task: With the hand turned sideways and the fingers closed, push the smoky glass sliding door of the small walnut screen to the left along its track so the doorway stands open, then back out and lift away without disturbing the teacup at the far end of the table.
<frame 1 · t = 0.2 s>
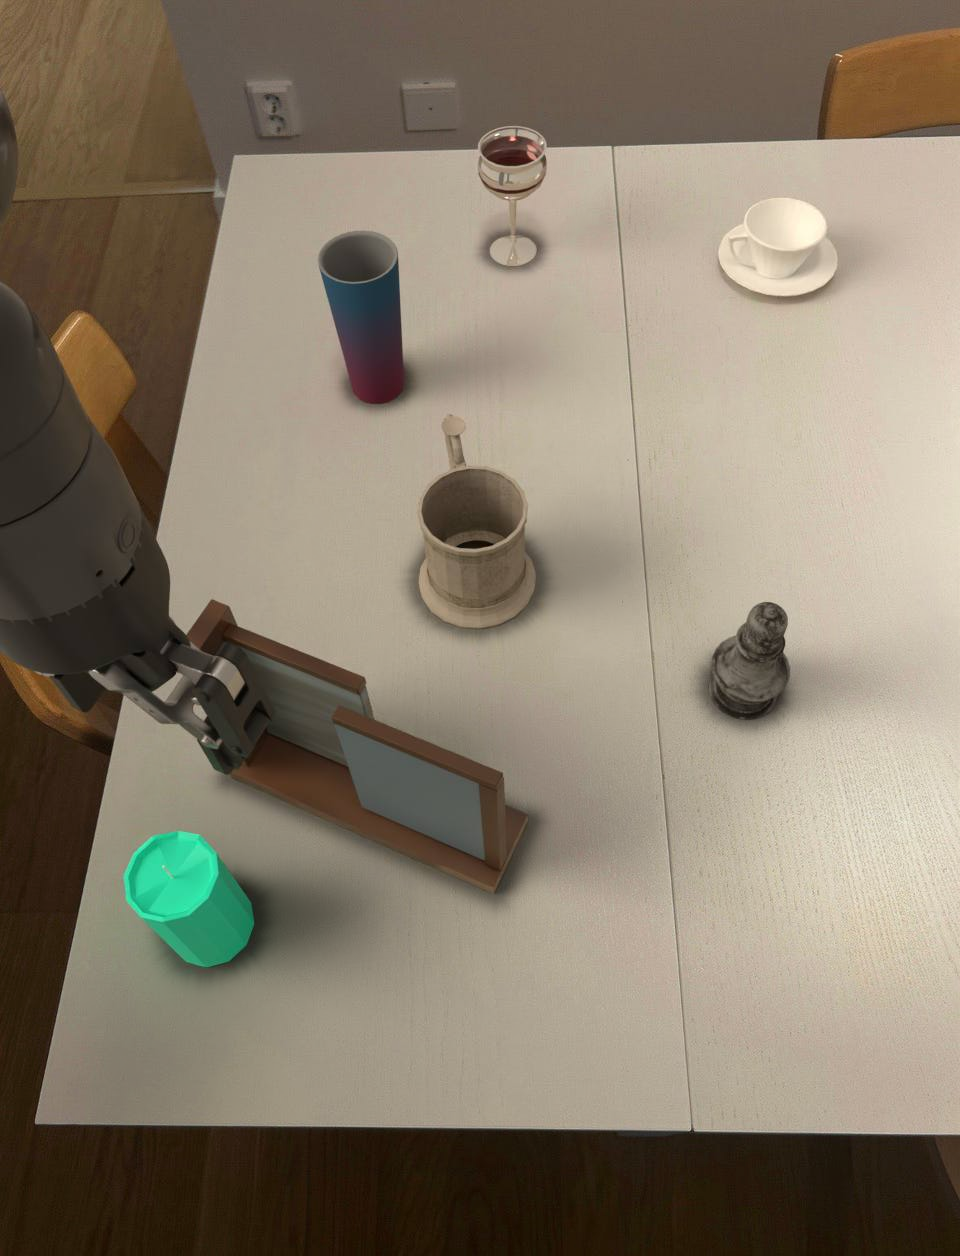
hand: (162, 726, 54), 26 cm above the table, tool pointing down, fingers open, 8 cm apart
screen frame: (377, 799, 80), on the table
wineglass: (513, 251, 112), on the table
glass door: (424, 792, 70), point 9 cm above the table, slide at 0.0 cm
teacup: (774, 268, 110), on the table
cup: (378, 386, 103), on the table
candle: (213, 925, 75), on the table
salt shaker: (742, 690, 84), on the table
mug: (471, 559, 91), on the table
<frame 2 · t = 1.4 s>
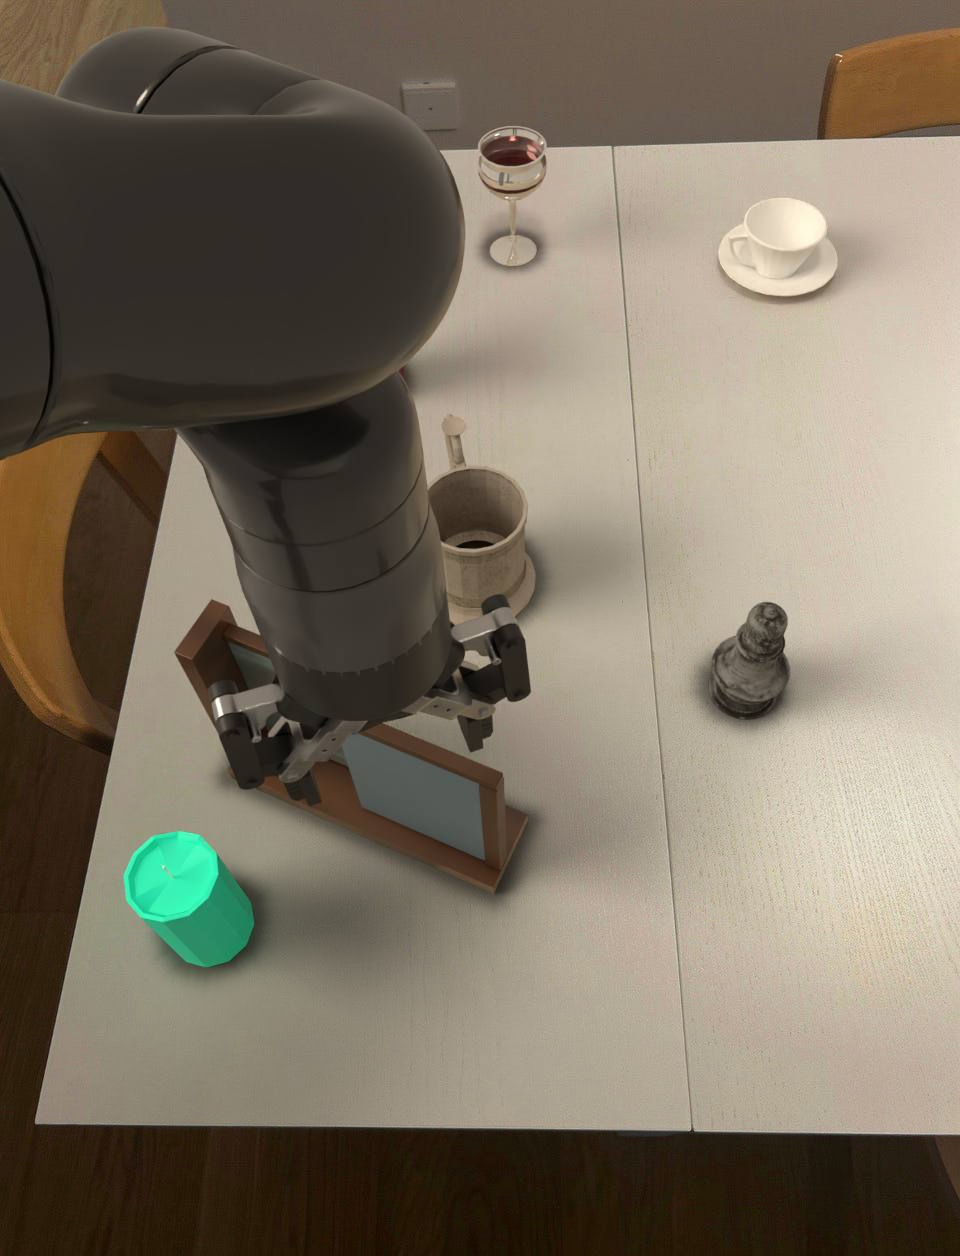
hand: (392, 761, 54), 24 cm above the table, tool pointing down, fingers open, 8 cm apart
nothing on the table moved.
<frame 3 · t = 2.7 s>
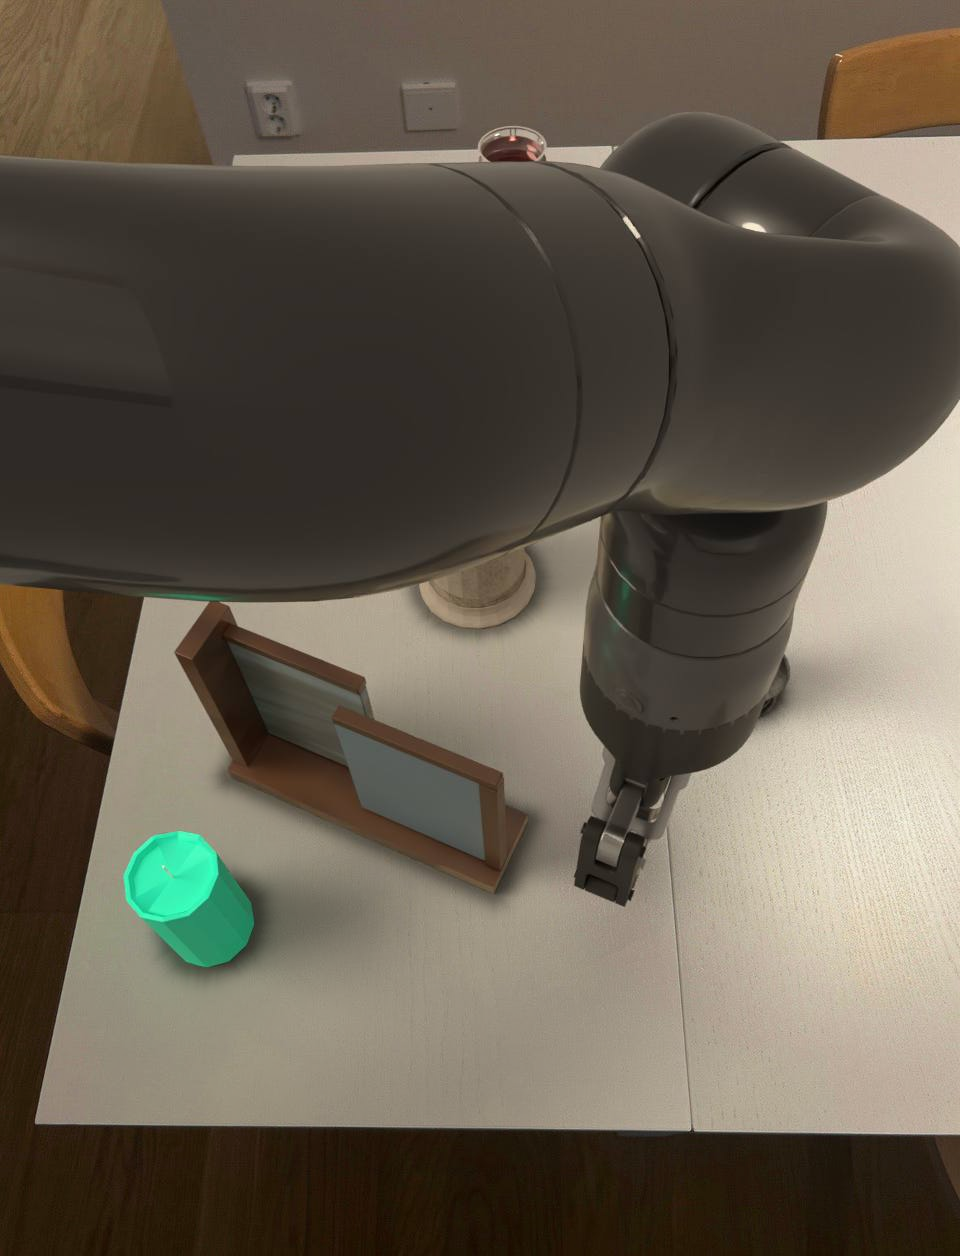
hand: (643, 802, 55), 23 cm above the table, tool pointing down, fingers open, 8 cm apart
nothing on the table moved.
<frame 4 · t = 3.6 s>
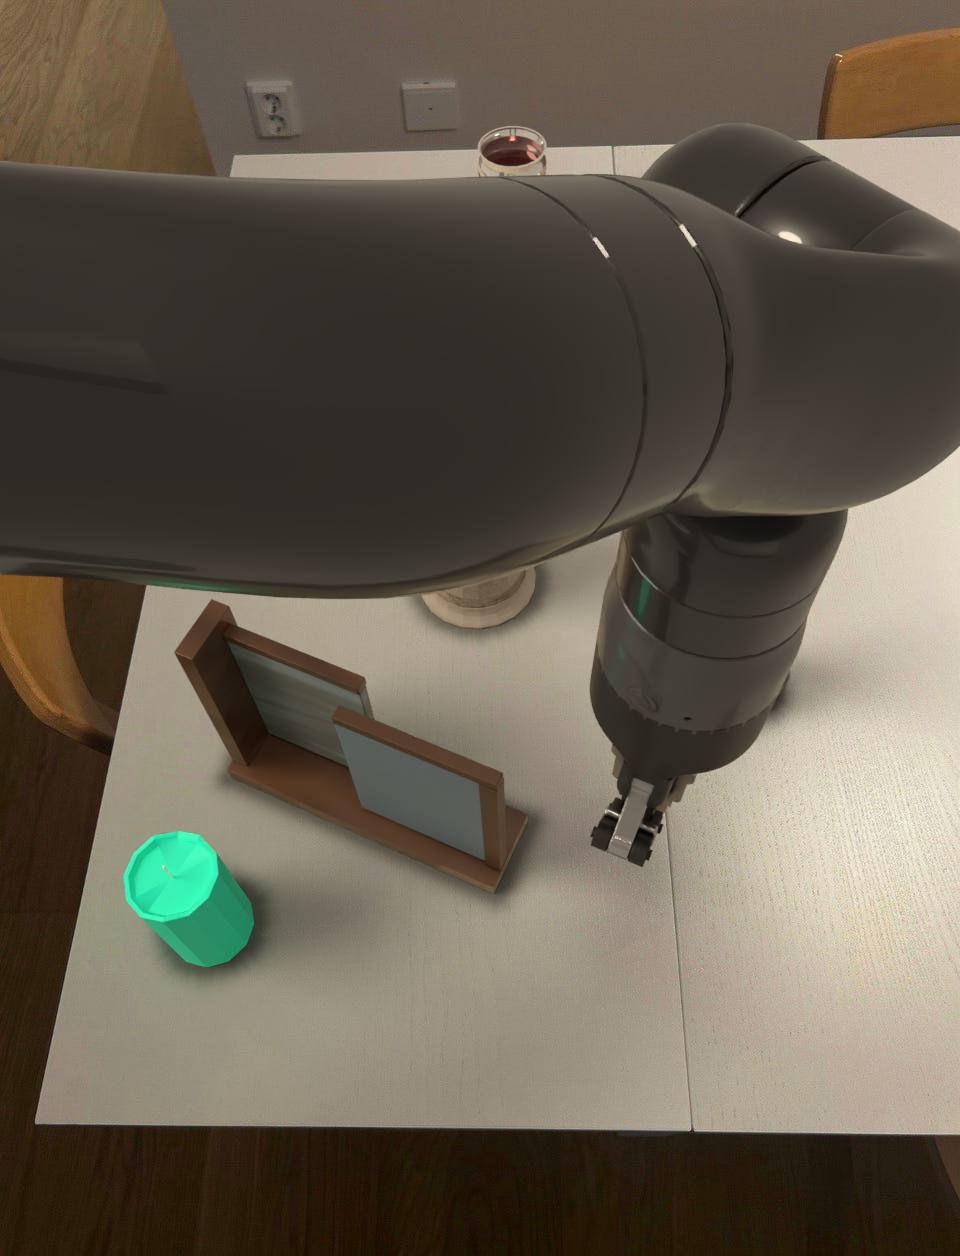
hand: (641, 811, 56), 21 cm above the table, tool pointing down, fingers closed
nothing on the table moved.
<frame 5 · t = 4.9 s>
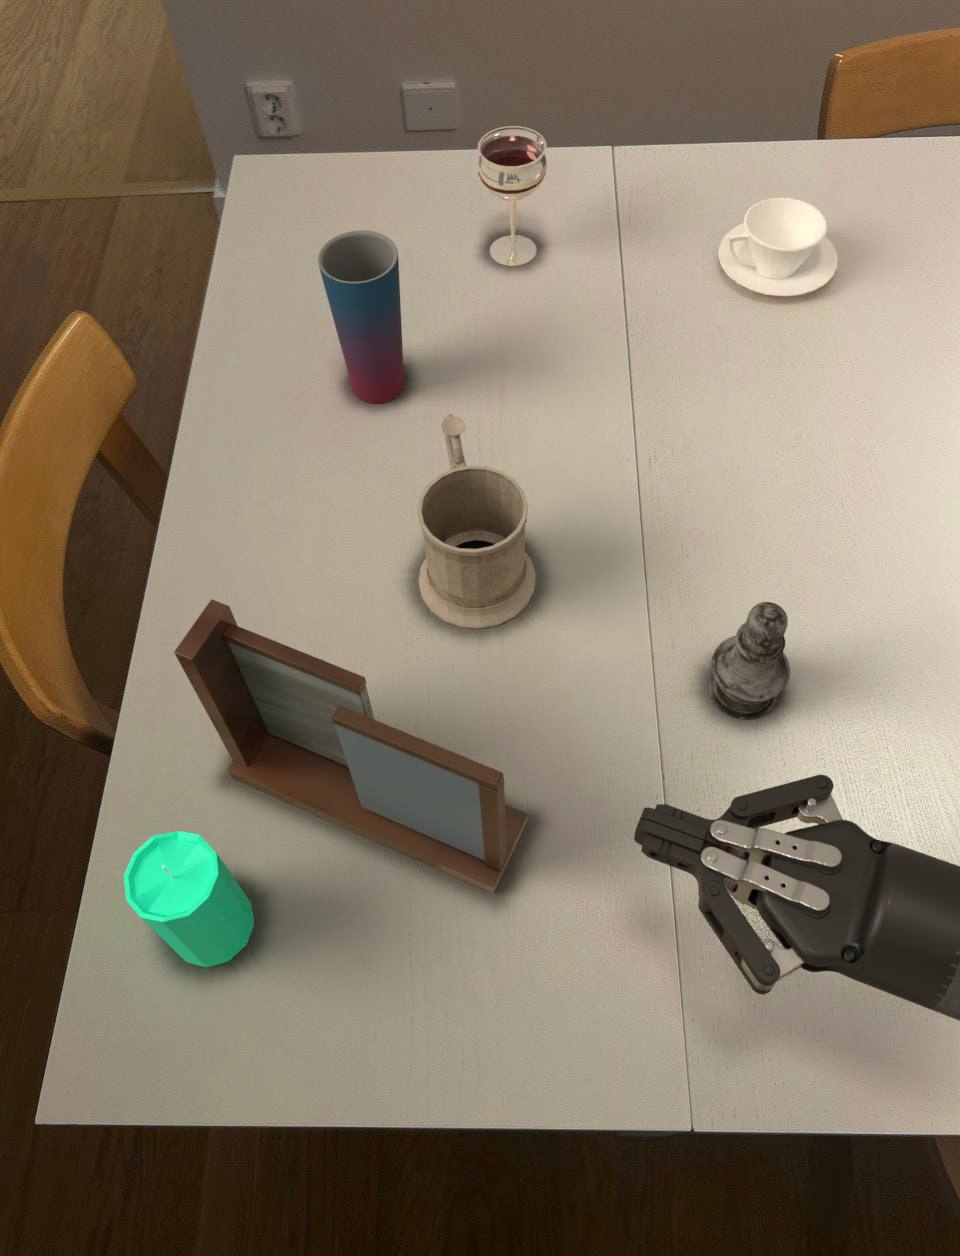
hand: (639, 823, 60), 17 cm above the table, tool horizontal, fingers closed
nothing on the table moved.
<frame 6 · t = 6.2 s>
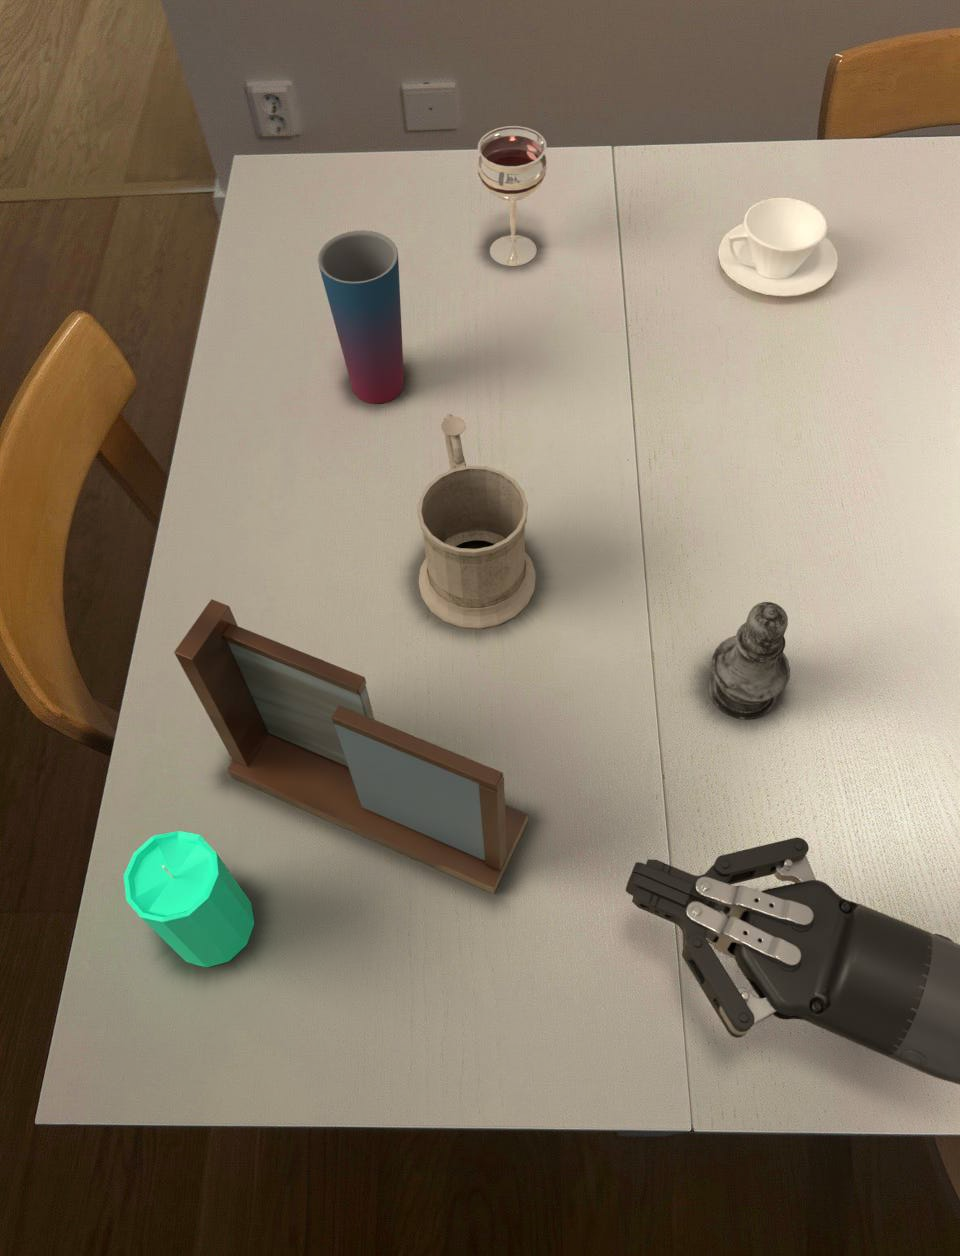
hand: (631, 876, 66), 10 cm above the table, tool horizontal, fingers closed
nothing on the table moved.
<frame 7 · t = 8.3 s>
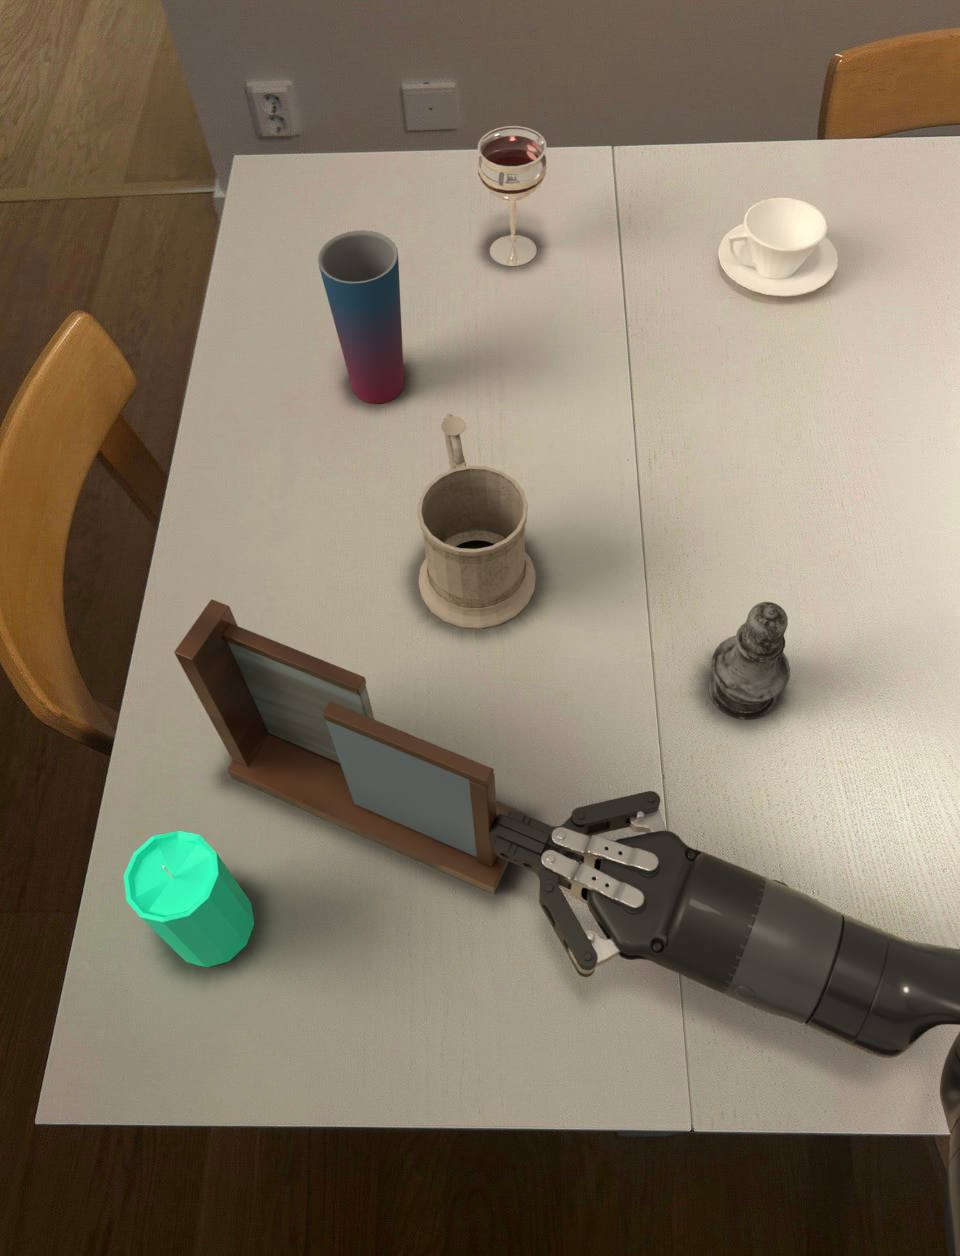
hand: (493, 827, 70), 8 cm above the table, tool horizontal, fingers closed
glass door: (416, 788, 70), point 9 cm above the table, slide at 0.6 cm, touching gripper
everything else where it was.
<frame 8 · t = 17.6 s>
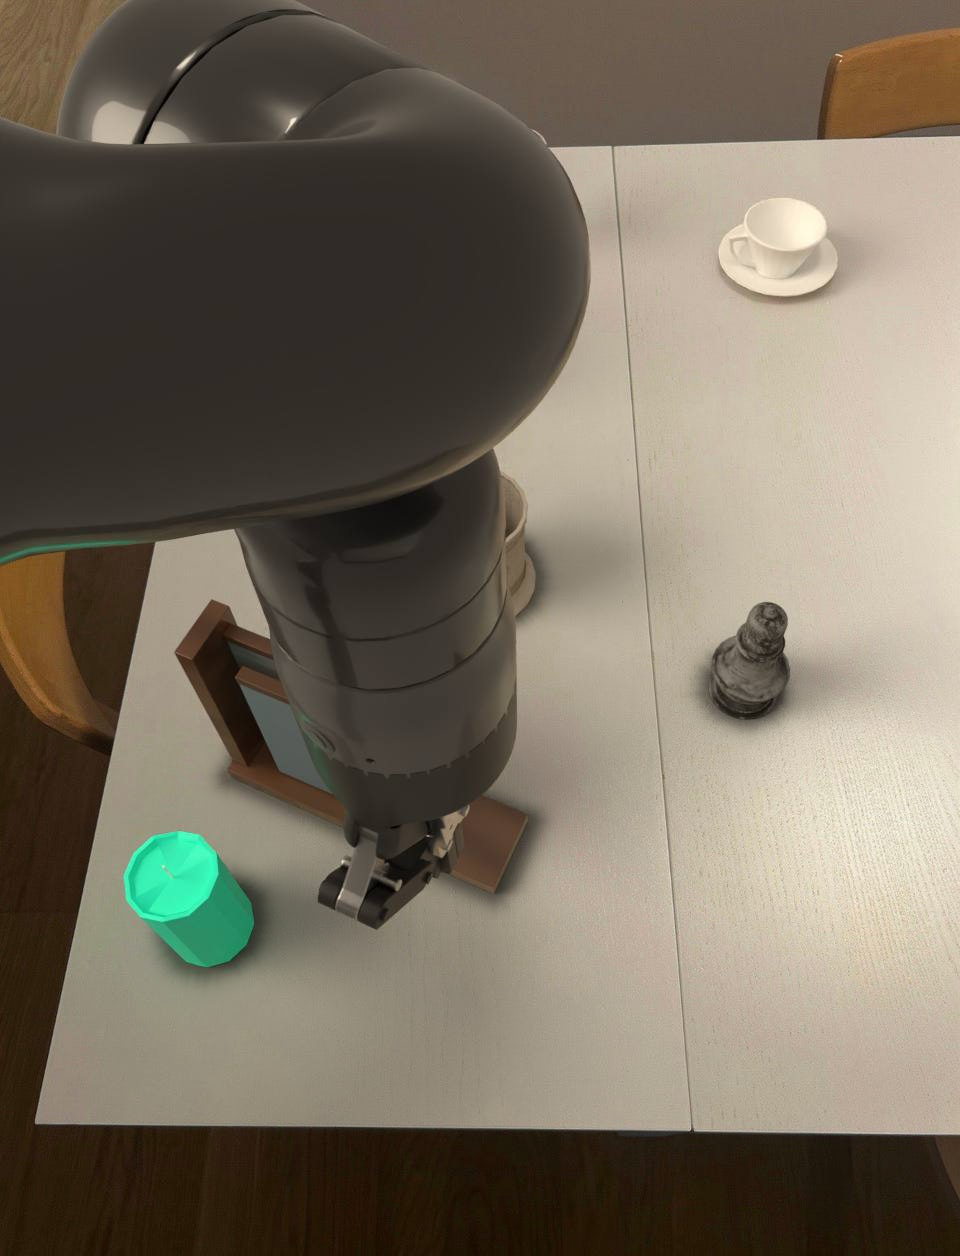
hand: (437, 852, 49), 27 cm above the table, tool pointing down, fingers closed
glass door: (332, 753, 72), point 9 cm above the table, slide at 7.0 cm
everything else where it was.
at the end: glass door slide at 7.0 cm; the gripper is holding nothing; teacup moved 0.2 cm from its start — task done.
